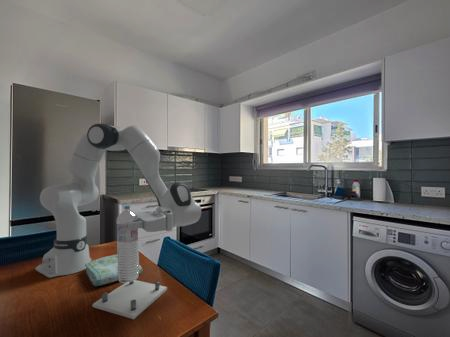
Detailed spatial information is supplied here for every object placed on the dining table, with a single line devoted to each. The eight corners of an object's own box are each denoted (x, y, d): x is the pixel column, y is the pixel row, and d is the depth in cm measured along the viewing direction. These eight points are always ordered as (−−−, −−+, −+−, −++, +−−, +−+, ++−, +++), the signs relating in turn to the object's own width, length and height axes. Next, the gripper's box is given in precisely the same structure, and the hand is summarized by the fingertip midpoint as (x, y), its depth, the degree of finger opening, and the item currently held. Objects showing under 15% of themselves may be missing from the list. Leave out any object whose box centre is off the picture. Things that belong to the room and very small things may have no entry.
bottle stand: (92, 306, 70) (92, 296, 70) (131, 281, 86) (131, 272, 86) (133, 319, 64) (133, 307, 64) (166, 289, 80) (167, 280, 80)
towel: (126, 260, 108) (126, 249, 108) (142, 275, 92) (143, 263, 92) (83, 271, 95) (83, 260, 95) (94, 291, 80) (94, 277, 80)
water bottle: (133, 272, 78) (131, 204, 80) (143, 277, 74) (141, 205, 76) (114, 280, 73) (112, 206, 75) (123, 285, 69) (122, 207, 70)
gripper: (153, 206, 91) (118, 210, 83) (173, 213, 75) (131, 219, 66) (153, 221, 91) (118, 226, 82) (173, 231, 75) (132, 239, 66)
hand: (124, 223), depth 74 cm, fingers closed on water bottle, 6 cm apart
